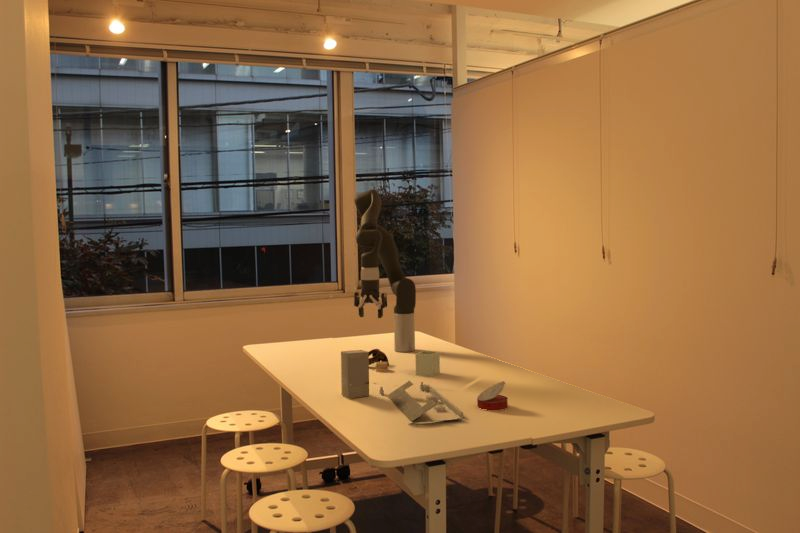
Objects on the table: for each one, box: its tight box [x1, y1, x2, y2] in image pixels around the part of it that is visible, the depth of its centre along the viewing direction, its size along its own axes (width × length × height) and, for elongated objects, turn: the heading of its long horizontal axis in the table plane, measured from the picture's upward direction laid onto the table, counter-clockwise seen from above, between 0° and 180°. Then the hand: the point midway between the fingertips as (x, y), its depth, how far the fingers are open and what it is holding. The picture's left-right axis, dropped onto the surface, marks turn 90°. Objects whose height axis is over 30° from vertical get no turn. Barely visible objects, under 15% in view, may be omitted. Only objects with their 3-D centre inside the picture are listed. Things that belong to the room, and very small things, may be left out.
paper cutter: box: [379, 380, 465, 425], centre depth 256 cm, size 18×45×6 cm, turn 14°
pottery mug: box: [368, 348, 390, 367], centre depth 323 cm, size 12×10×8 cm
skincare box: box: [340, 349, 370, 399], centre depth 273 cm, size 8×7×16 cm
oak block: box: [375, 361, 389, 373], centre depth 310 cm, size 4×4×4 cm
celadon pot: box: [414, 350, 441, 377], centre depth 302 cm, size 7×7×9 cm
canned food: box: [476, 381, 509, 411], centre depth 255 cm, size 11×10×10 cm
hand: (370, 317), depth 322 cm, fingers open, 8 cm apart
